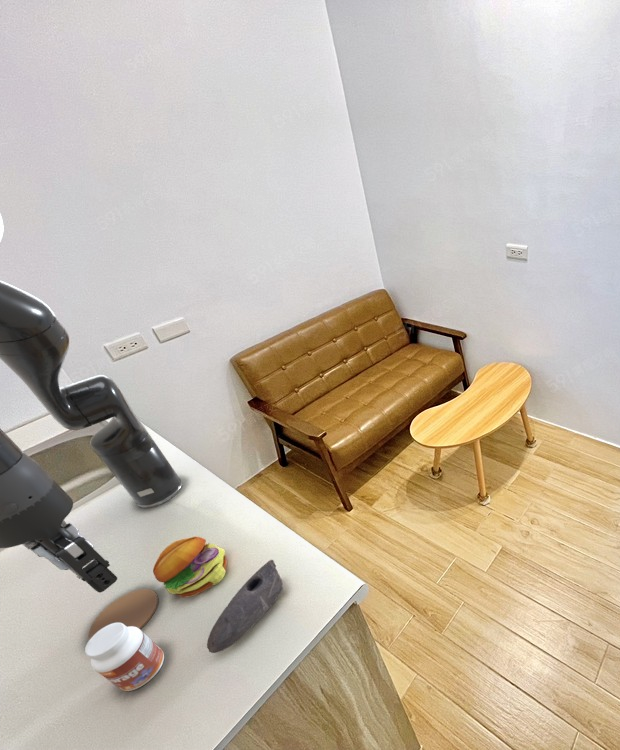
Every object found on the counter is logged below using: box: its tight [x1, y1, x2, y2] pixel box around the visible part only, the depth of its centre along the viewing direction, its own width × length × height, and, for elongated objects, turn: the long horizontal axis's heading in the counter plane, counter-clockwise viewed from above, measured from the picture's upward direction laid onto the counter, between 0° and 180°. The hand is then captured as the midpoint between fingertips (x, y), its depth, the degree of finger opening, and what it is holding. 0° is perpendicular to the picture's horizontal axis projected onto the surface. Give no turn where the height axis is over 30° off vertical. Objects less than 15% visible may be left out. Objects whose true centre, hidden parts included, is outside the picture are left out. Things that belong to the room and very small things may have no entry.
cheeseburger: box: [152, 536, 228, 598], centre depth 76 cm, size 10×11×10 cm
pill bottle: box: [84, 623, 165, 692], centre depth 62 cm, size 6×6×11 cm
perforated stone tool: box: [206, 559, 284, 654], centre depth 70 cm, size 15×5×7 cm, turn 156°
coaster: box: [88, 588, 159, 641], centre depth 72 cm, size 10×10×1 cm
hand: (90, 574), depth 54 cm, fingers open, 8 cm apart
